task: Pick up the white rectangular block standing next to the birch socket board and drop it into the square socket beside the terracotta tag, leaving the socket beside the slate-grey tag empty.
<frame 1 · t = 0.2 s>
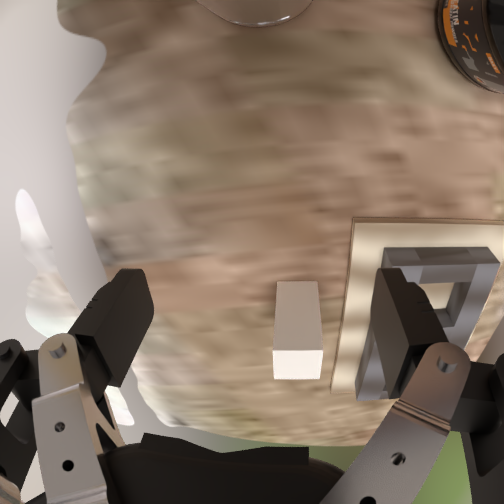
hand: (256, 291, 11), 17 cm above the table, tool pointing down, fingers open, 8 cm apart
socket board: (415, 319, 34), on the table
white rectangular block: (297, 296, 33), on the table
supplement container: (482, 34, 17), on the table
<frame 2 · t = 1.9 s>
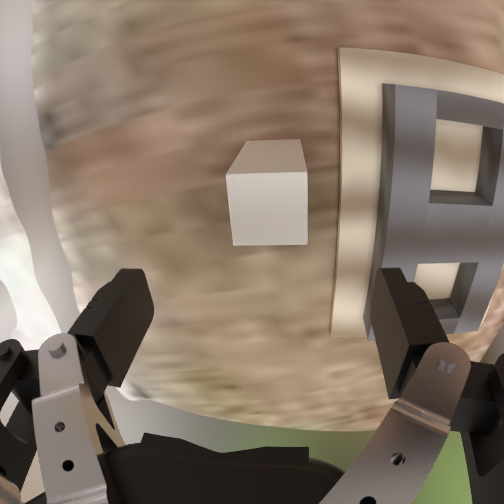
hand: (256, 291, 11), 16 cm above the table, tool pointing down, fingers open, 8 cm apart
socket board: (437, 213, 25), on the table
white rectangular block: (274, 165, 24), on the table
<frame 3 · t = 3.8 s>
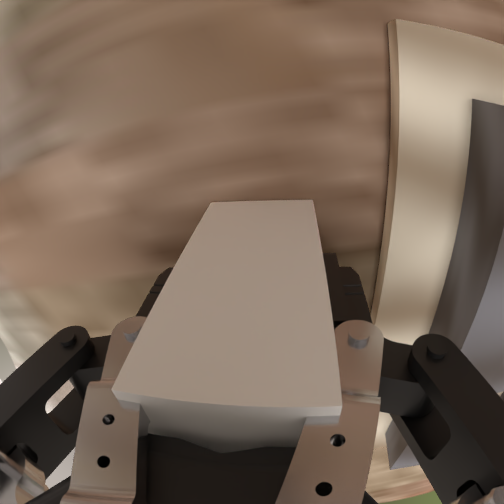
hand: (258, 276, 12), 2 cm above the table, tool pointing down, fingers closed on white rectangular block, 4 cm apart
white rectangular block: (264, 245, 14), on the table, touching gripper
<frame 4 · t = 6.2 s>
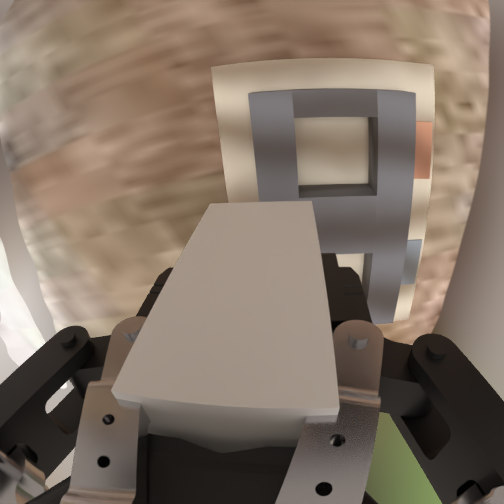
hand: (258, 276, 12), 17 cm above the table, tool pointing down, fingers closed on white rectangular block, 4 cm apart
socket board: (332, 207, 28), on the table
white rectangular block: (263, 246, 14), point 15 cm above the table, touching gripper
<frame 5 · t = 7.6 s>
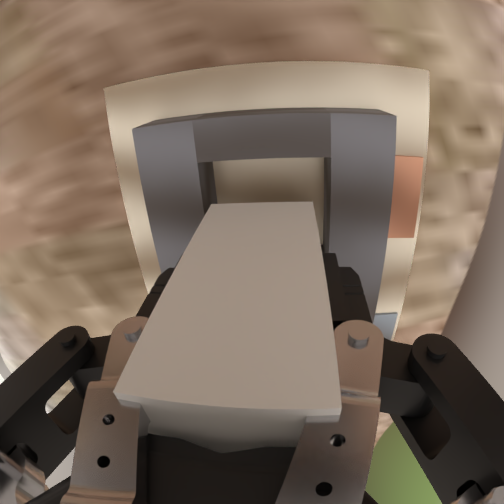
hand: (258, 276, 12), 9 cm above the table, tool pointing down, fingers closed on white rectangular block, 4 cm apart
socket board: (274, 271, 22), on the table
white rectangular block: (264, 247, 14), point 6 cm above the table, touching gripper
when the fingers open (5 cm above the table, at t = 8.7 s): white rectangular block drops 2 cm, resting on socket board.
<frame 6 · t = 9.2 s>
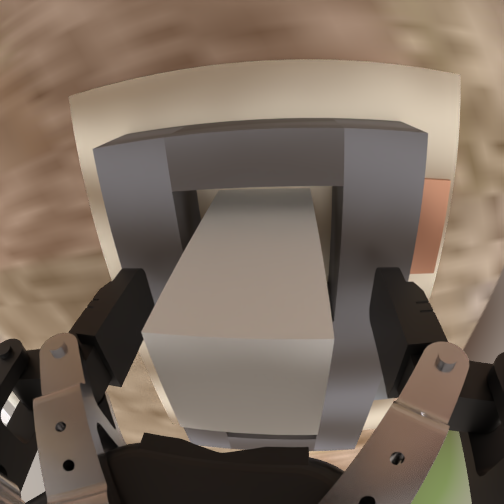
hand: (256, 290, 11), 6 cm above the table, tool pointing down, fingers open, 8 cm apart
socket board: (271, 308, 19), on the table
white rectangular block: (266, 230, 15), point 1 cm above the table, touching socket board
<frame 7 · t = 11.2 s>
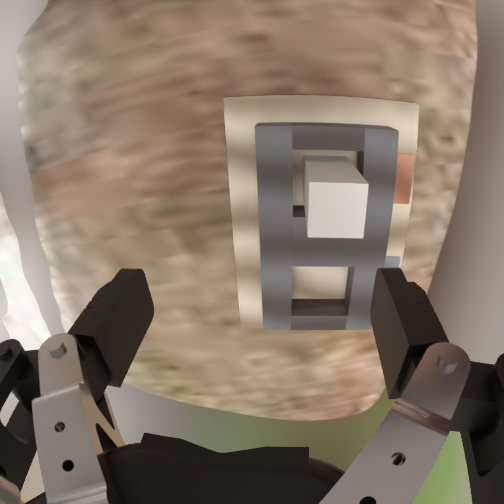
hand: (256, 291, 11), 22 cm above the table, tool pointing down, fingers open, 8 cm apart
socket board: (321, 225, 33), on the table
white rectangular block: (324, 176, 29), point 1 cm above the table, touching socket board
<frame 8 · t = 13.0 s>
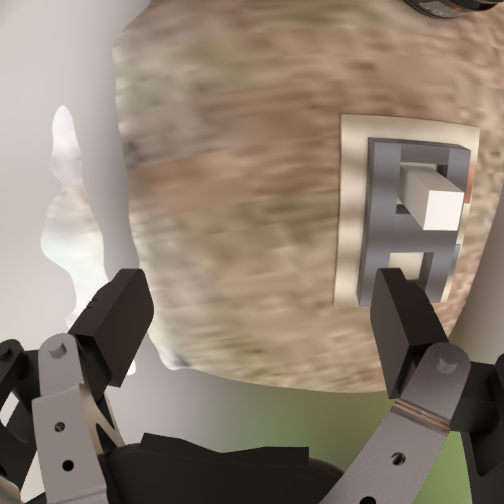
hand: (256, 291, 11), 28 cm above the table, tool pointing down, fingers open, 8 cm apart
socket board: (406, 219, 38), on the table
white rectangular block: (413, 181, 35), point 1 cm above the table, touching socket board
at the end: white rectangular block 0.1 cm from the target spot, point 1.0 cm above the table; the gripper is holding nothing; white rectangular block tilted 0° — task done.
